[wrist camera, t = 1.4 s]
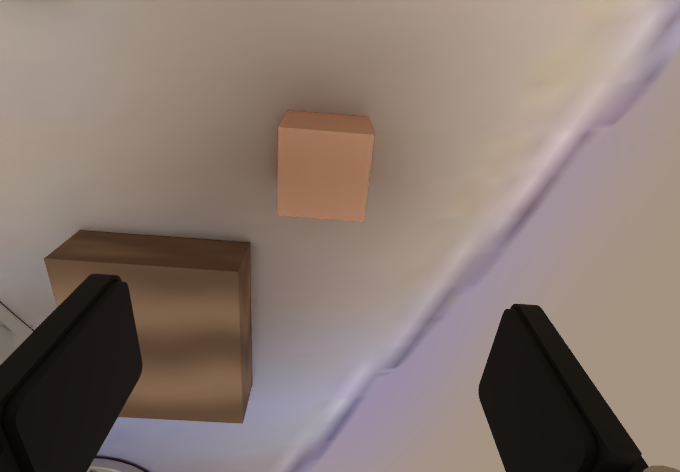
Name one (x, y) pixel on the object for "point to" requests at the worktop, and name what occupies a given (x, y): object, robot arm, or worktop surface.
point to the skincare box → (11, 333)
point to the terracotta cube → (324, 165)
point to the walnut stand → (175, 318)
